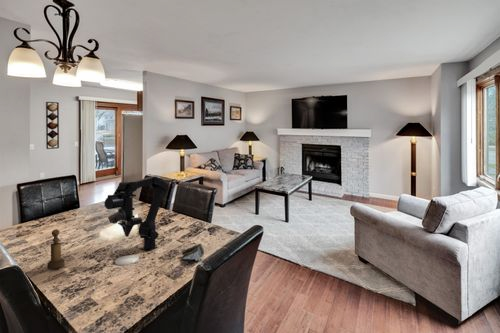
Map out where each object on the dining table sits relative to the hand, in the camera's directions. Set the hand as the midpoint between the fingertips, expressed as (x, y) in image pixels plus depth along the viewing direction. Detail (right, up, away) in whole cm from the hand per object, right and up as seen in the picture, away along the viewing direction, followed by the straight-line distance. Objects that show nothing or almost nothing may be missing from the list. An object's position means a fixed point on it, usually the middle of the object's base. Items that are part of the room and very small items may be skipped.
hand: (126, 236), depth 128 cm
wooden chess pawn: (-32, -13, -6) cm, 35 cm away
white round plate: (0, -13, 0) cm, 13 cm away
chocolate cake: (+29, -15, +3) cm, 33 cm away
